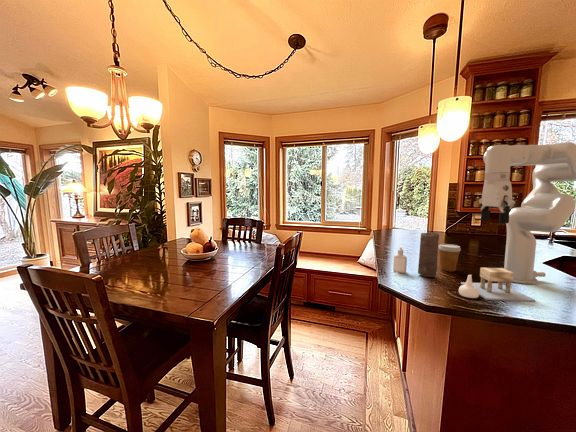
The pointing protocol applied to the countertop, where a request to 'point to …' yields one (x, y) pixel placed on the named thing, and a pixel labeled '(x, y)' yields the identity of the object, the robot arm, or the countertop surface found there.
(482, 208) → the robot arm
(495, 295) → the felt mat
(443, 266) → the disposable coffee cup
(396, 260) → the eye dropper bottle
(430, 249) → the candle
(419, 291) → the countertop surface
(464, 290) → the garlic bulb
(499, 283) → the beech stool
